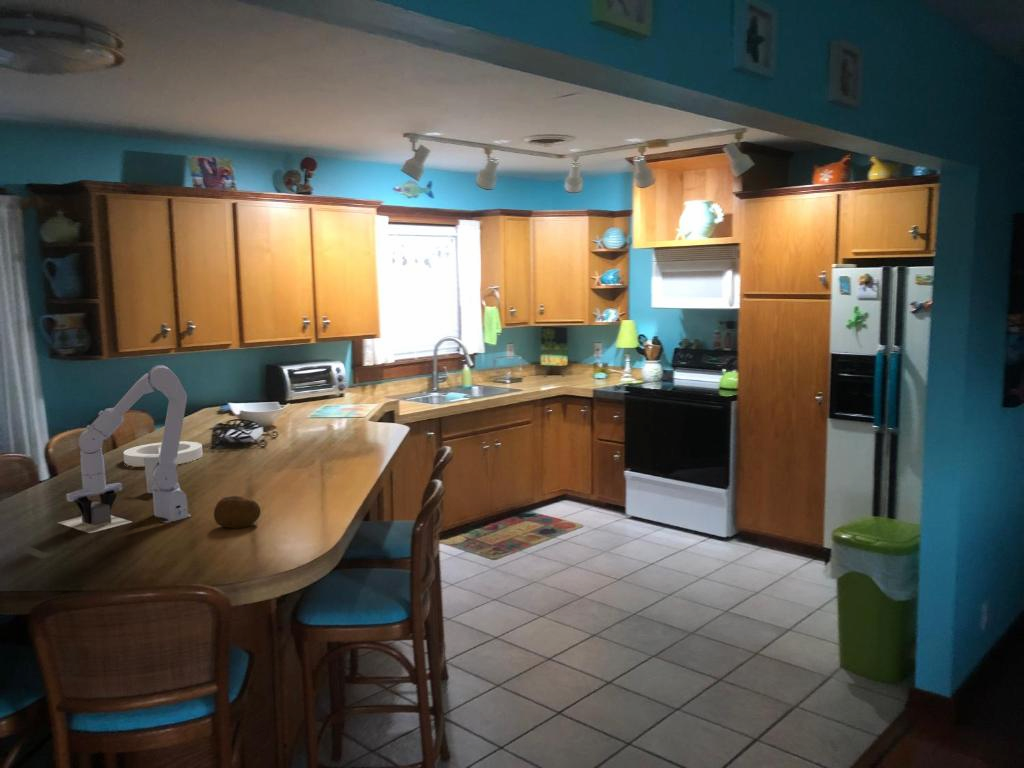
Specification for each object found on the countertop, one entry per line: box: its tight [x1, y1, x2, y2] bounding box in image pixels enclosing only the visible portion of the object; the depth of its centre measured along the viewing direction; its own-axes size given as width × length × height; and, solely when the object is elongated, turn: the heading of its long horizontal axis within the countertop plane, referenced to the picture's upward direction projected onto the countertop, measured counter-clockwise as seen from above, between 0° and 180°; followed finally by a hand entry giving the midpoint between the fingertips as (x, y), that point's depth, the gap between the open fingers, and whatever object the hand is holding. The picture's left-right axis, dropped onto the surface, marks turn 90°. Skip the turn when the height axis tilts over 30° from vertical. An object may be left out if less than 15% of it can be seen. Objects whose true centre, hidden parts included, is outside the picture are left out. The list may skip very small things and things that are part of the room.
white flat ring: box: [122, 440, 204, 466], centre depth 306 cm, size 28×28×5 cm
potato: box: [213, 495, 261, 529], centre depth 218 cm, size 8×12×9 cm
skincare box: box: [144, 455, 159, 494], centre depth 257 cm, size 6×4×12 cm
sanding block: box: [81, 501, 112, 527], centre depth 220 cm, size 7×4×5 cm, turn 55°
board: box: [57, 515, 133, 534], centre depth 221 cm, size 18×12×1 cm, turn 55°
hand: (97, 520), depth 220 cm, fingers closed on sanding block, 4 cm apart
